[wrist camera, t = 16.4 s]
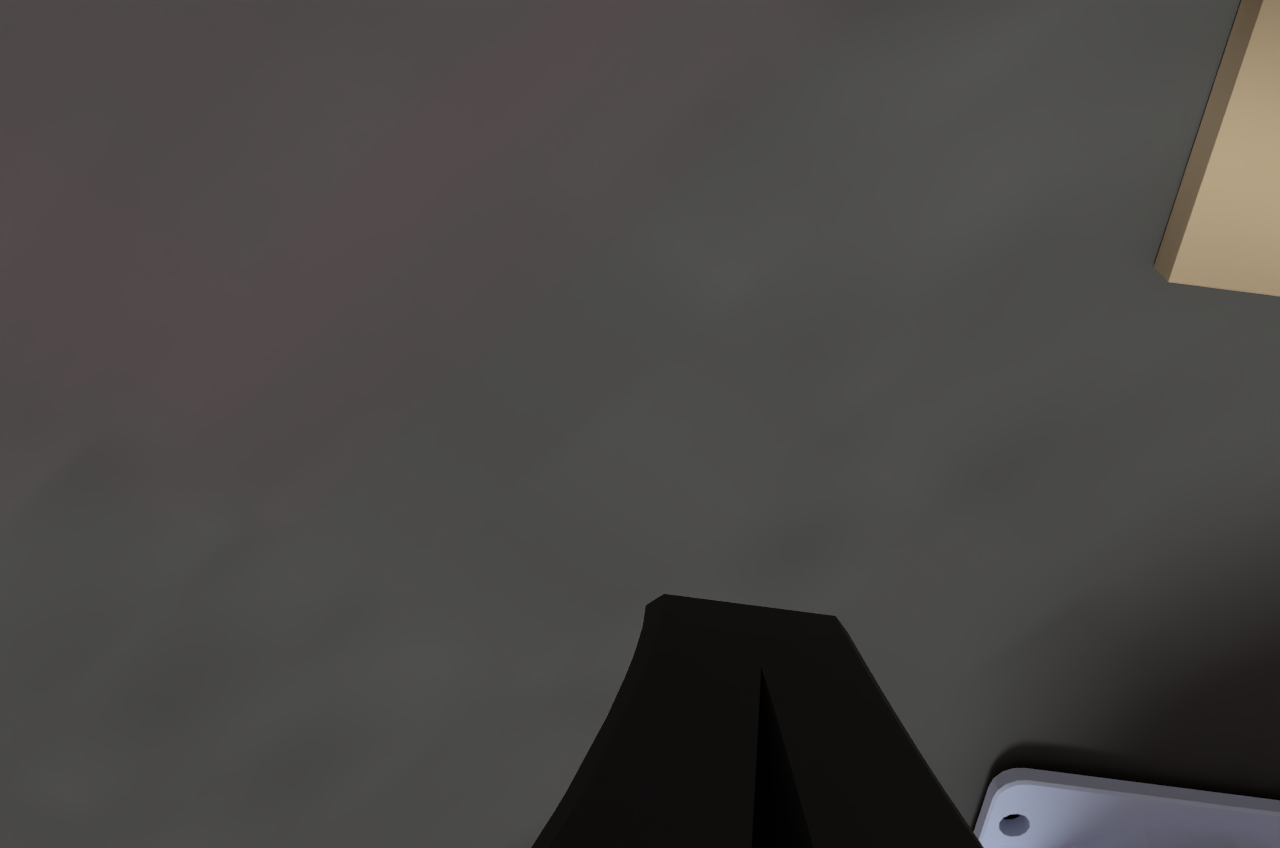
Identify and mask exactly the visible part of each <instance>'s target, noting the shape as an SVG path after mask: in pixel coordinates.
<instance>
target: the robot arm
mask: <svg viewBox="0 0 1280 848" xmlns="http://www.w3.org/2000/svg"><path fill="white" fill-rule="evenodd" d="M1011 814H1020V816H1019V817H1017V818H1015V819H1007V820H1005V819H1003V818H1004V817H1006V816H1008V815H1011ZM531 848H1280V800H1272V799H1264V798H1256V797H1249V796H1241V795H1233V794H1225V793H1217V792H1210V791H1202V790H1194V789H1186V788H1178V787H1170V786H1163V785H1155V784H1147V783H1139V782H1131V781H1123V780H1116V779H1108V778H1100V777H1092V776H1084V775H1076V774H1069V773H1061V772H1053V771H1045V770H1037V769H1029V768H1012V769H1009V770H1006V771H1003V772H1001V773H1000V774H998V775H997V776H996V777H994V778H993V780H992V782H991V783H990V785H989V787H988V790H987V793H986V796H985V799H984V802H983V805H982V808H981V811H980V814H979V817H978V820H977V823H976V826H975V829H974V832H973V831H972V830H971V828H970V827H969V825H968V824H967V822H966V821H965V819H964V818H963V817H962V815H961V814H960V812H959V811H958V809H957V808H956V806H955V805H954V803H953V802H952V800H951V799H950V798H949V796H948V795H947V793H946V792H945V790H944V789H943V787H942V786H941V784H940V783H939V781H938V780H937V778H936V776H935V775H934V773H933V772H932V770H931V769H930V767H929V766H928V764H927V763H926V761H925V760H924V758H923V756H922V755H921V753H920V752H919V750H918V748H917V747H916V745H915V744H914V742H913V740H912V739H911V737H910V736H909V734H908V732H907V731H906V729H905V728H904V726H903V724H902V723H901V721H900V720H899V718H898V716H897V715H896V713H895V712H894V710H893V708H892V707H891V705H890V703H889V702H888V700H887V698H886V697H885V695H884V693H883V692H882V690H881V688H880V687H879V685H878V683H877V682H876V680H875V678H874V677H873V675H872V673H871V672H870V670H869V668H868V666H867V665H866V663H865V661H864V660H863V658H862V656H861V655H860V653H859V651H858V649H857V648H856V646H855V644H854V643H853V641H852V639H851V637H850V636H849V634H848V632H847V631H846V630H845V628H844V627H843V626H842V624H841V623H840V622H839V620H838V619H837V618H836V616H831V615H823V614H815V613H807V612H800V611H792V610H784V609H776V608H769V607H761V606H753V605H745V604H738V603H730V602H722V601H714V600H707V599H699V598H691V597H683V596H676V595H668V594H663V595H662V596H660V597H659V598H657V599H655V600H654V601H652V602H651V603H649V604H647V605H646V608H645V615H644V622H643V627H642V631H641V634H640V638H639V641H638V644H637V648H636V650H635V653H634V656H633V659H632V661H631V664H630V666H629V669H628V671H627V674H626V676H625V679H624V681H623V683H622V685H621V687H620V690H619V692H618V694H617V696H616V698H615V701H614V703H613V705H612V707H611V709H610V712H609V714H608V716H607V718H606V720H605V721H604V723H603V725H602V727H601V729H600V731H599V733H598V734H597V736H596V738H595V740H594V742H593V744H592V746H591V747H590V749H589V751H588V753H587V755H586V757H585V758H584V760H583V762H582V764H581V766H580V768H579V770H578V771H577V773H576V775H575V777H574V779H573V781H572V783H571V784H570V786H569V788H568V790H567V792H566V793H565V795H564V797H563V798H562V800H561V802H560V803H559V805H558V807H557V808H556V810H555V812H554V813H553V815H552V816H551V818H550V820H549V821H548V823H547V824H546V826H545V827H544V829H543V830H542V832H541V833H540V835H539V837H538V838H537V840H536V841H535V843H534V844H533V846H532V847H531Z"/></svg>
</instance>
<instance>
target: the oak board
mask: <svg viewBox="0 0 1280 848" xmlns="http://www.w3.org/2000/svg"><path fill="white" fill-rule="evenodd" d="M1153 268H1154V269H1155V270H1156V271H1158V272H1159V273H1160V274H1161V275H1162V276H1163V277H1164V278H1165V279H1166V280H1167V281H1168V282H1172V283H1180V284H1188V285H1196V286H1203V287H1211V288H1219V289H1227V290H1235V291H1242V292H1250V293H1258V294H1266V295H1273V296H1280V0H1241V3H1240V6H1239V9H1238V12H1237V15H1236V18H1235V21H1234V24H1233V28H1232V31H1231V34H1230V37H1229V40H1228V43H1227V46H1226V49H1225V52H1224V55H1223V58H1222V61H1221V64H1220V67H1219V70H1218V73H1217V76H1216V79H1215V82H1214V85H1213V88H1212V91H1211V94H1210V97H1209V100H1208V103H1207V106H1206V109H1205V112H1204V115H1203V119H1202V122H1201V125H1200V128H1199V131H1198V134H1197V137H1196V140H1195V143H1194V146H1193V149H1192V152H1191V155H1190V158H1189V161H1188V164H1187V167H1186V170H1185V173H1184V176H1183V179H1182V182H1181V185H1180V188H1179V191H1178V194H1177V197H1176V200H1175V203H1174V207H1173V210H1172V213H1171V216H1170V219H1169V222H1168V225H1167V228H1166V231H1165V234H1164V237H1163V240H1162V243H1161V246H1160V249H1159V252H1158V255H1157V258H1156V261H1155V264H1154V267H1153Z"/></svg>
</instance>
